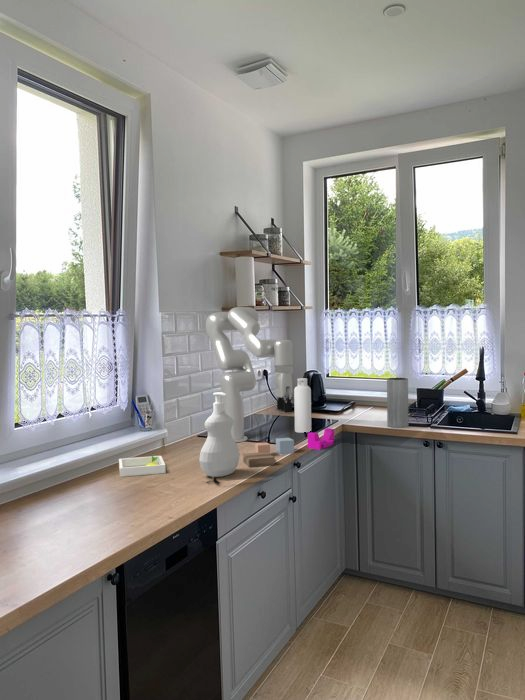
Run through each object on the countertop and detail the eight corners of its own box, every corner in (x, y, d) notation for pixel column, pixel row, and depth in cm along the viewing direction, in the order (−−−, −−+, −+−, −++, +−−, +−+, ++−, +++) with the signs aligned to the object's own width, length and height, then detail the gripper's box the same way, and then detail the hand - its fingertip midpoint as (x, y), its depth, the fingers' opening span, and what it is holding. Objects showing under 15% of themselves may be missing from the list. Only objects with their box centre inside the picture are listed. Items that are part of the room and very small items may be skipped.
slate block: (276, 452, 234) (275, 438, 234) (289, 451, 235) (289, 437, 235) (280, 455, 228) (280, 441, 228) (294, 454, 230) (293, 440, 229)
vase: (388, 435, 266) (387, 379, 265) (386, 432, 276) (386, 377, 275) (409, 436, 265) (409, 379, 264) (407, 432, 275) (407, 377, 274)
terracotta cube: (255, 455, 230) (254, 443, 230) (266, 454, 231) (266, 442, 231) (258, 457, 225) (258, 445, 225) (270, 456, 226) (269, 444, 226)
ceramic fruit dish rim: (119, 466, 213) (118, 458, 213) (161, 463, 218) (161, 455, 218) (120, 476, 198) (119, 468, 198) (165, 473, 202) (165, 464, 202)
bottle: (314, 435, 270) (313, 378, 269) (306, 438, 263) (305, 379, 262) (299, 434, 274) (299, 377, 274) (291, 437, 268) (290, 378, 267)
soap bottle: (215, 482, 189) (213, 395, 188) (191, 476, 196) (189, 394, 195) (247, 472, 202) (246, 391, 201) (224, 467, 209) (223, 389, 208)
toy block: (319, 452, 233) (319, 434, 233) (307, 450, 237) (307, 433, 237) (339, 446, 245) (338, 429, 245) (327, 444, 249) (327, 428, 249)
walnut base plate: (242, 461, 219) (242, 453, 218) (267, 459, 221) (267, 451, 221) (249, 467, 209) (249, 459, 209) (274, 465, 212) (274, 457, 212)
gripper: (269, 368, 238) (270, 408, 238) (281, 371, 221) (282, 414, 222) (285, 368, 240) (286, 407, 240) (299, 370, 223) (300, 412, 224)
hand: (284, 410), depth 231 cm, fingers open, 9 cm apart
